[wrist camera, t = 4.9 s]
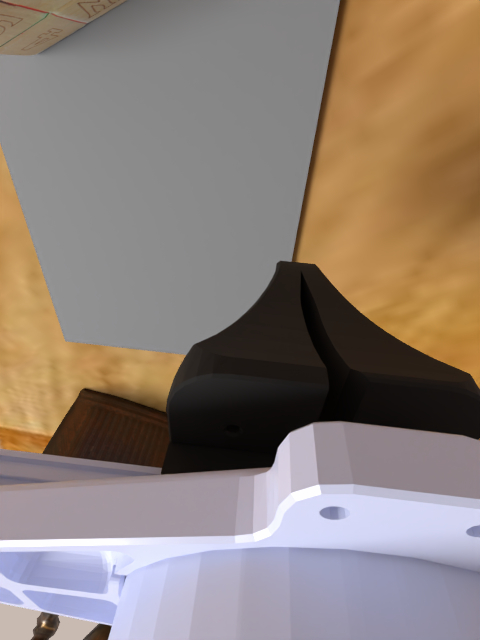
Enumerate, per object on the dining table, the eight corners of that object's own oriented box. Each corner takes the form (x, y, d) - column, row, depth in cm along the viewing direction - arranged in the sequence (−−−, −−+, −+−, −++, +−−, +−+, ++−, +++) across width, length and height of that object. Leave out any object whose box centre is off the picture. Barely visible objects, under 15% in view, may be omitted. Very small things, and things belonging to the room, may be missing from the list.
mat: (366, -149, 11) (368, -155, 11) (272, 360, 26) (272, 364, 26) (-100, -185, 12) (-110, -192, 11) (67, 337, 27) (65, 341, 26)
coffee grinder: (168, 471, 38) (104, 716, 24) (68, 443, 36) (-64, 690, 22) (215, 391, 29) (158, 709, 15) (86, 347, 27) (-121, 665, 13)
